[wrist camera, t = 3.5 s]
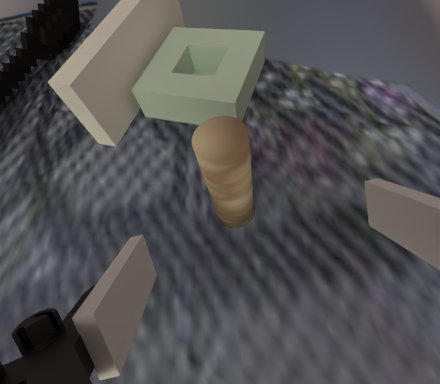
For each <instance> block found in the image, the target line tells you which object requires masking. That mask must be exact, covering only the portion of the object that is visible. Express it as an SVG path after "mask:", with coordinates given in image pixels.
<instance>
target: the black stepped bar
mask: <svg viewBox="0 0 440 384" xmlns="http://www.w3.org/2000/svg"><path fill="white" fill-rule="evenodd" d="M32 17H33V18H32ZM32 17H25V18H26V25H27V32H28V33H23V32H20V34H21V40H22V47H23V49H21V48H15V50H16V56H11V55H9V60H10V64H9V63H2V66H3V71H0V104H6V100H5V96H13V94H12V88H15V89H19V84H18V81H25V75H24V73H29V74H31V67H30V66H37V60H36V59H42V60H49V53H52V54H60V53H61V51H60V48H66V44H65V41H66V42H71V38H70V36H76V34H75V30H80V18H79V5H78V0H44V4H38V10H32Z"/></svg>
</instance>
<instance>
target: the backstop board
mask: <svg viewBox="0 0 440 384" xmlns="http://www.w3.org/2000/svg"><path fill="white" fill-rule="evenodd" d="M174 27H183V28H186V27H185V23H184V19H183V15H182V11H181V7H180V3H179V0H120V2H119V3H118V4H117V5H116V6H115V7H114V8H113V9H112V11H111V12H110V13H109V14H108V15H107V16H106V17H105V19H104V20H103V21H102V22H101V23H100V24H99V25H98V26H97V27H96V29H95V30H94V31H93V32H92V33H91V34H90V35H89V36H88V38H87V39H86V40H85V41H84V42H83V43H82V44H81V45H80V47H79V48H78V49H77V50H76V51H75V52H74V53H73V54H72V56H71V57H70V58H69V59H68V60H67V61H66V62H65V63H64V65H63V66H62V67H61V68H60V69H59V70H58V71H57V72H56V74H55V75H54V76H53V77H52V78H51V79H50V80H49V81H48V84H49V85H50V86H51V87H52V88H53V90H54V91H55V92H56V93H57V94H58V95H59V97H60V98H61V99H62V100H63V101H64V103H65V104H66V105H67V106H68V107H69V109H70V110H71V111H72V112H73V113H74V115H75V116H76V117H77V118H78V119H79V121H80V122H81V123H82V124H83V125H84V127H85V128H86V129H87V130H88V131H89V132H90V134H91V135H92V136H93V137H94V138H95V140H96V141H97V142H98V143H100V144H105V145H110V146H115V147H117V145H118V144H119V142H120V140H121V139H122V137H123V136H124V134H125V132H126V131H127V129H128V128H129V126H130V124H131V123H132V121H133V120H134V118H135V116H136V115H137V113H138V112H139V110H140V108H141V107H140V105H139V103H138V102H137V100H136V98H135V96H134V94H133V92H132V88H133V87H134V85H135V84H136V83H137V81H138V80H139V78H140V77H141V75H142V74H143V72H144V71H145V69H146V68H147V66H148V65H149V63H150V62H151V60H152V59H153V57H154V56H155V54H156V53H157V51H158V50H159V48H160V47H161V45H162V44H163V42H164V41H165V40H166V38H167V37H168V35H169V34H170V32H171V31H172V29H173V28H174Z"/></svg>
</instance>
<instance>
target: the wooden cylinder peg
mask: <svg viewBox="0 0 440 384" xmlns="http://www.w3.org/2000/svg"><path fill="white" fill-rule="evenodd" d="M192 146H193V149H194V152H195V154H196V157H197V160H198V163H199V165H200V168H201V171H202V174H203V176H204V179H205V182H206V185H207V187H208V190H209V193H210V196H211V198H212V201H213V204H214V207H215V209H216V212H217V215H218V218H219V220H220V221H221V222H222V223H223V224H224V225H225V226H227V227H230V228H240V227H243V226H245V225H247V224H248V223H249V222H250V221H251V220H252V218H253V215H254V200H253V185H252V170H251V156H250V141H249V131H248V128H247V127H246V125H245V124H244V123H243V122H242V121H240V120H239V119H237V118H234V117H230V116H218V117H213V118H210V119H208V120H206V121H204V122H203V123H202V124H200V125H199V126H198V127H197V128H196V130H195V131H194V133H193V136H192Z"/></svg>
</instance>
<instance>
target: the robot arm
mask: <svg viewBox="0 0 440 384" xmlns="http://www.w3.org/2000/svg"><path fill="white" fill-rule="evenodd" d="M365 191H366V200H367V210H368V220H369V226H371V227H372V228H374V229H376V230H377V231H379V232H380V233H382V234H383V235H385V236H387V237H388V238H390V239H391V240H393V241H394V242H396V243H398V244H399V245H401V246H402V247H404V248H405V249H407V250H409V251H410V252H412V253H413V254H415V255H416V256H418V257H420V258H421V259H423V260H424V261H426V262H427V263H429V264H430V265H432V266H434V267H435V268H437V269H438V270H440V198H438V197H435V196H432V195H429V194H425V193H422V192H419V191H416V190H413V189H410V188H407V187H404V186H400V185H397V184H394V183H391V182H388V181H385V180H382V179H379V178H377V179H373V180H368V181H365ZM156 276H157V274H156V271H155V269H154V266H153V263H152V260H151V257H150V254H149V251H148V248H147V245H146V242H145V239H144V236H143V235H139V236H135V237H131V238H130V239H129V240H128V241H127V243H126V244H125V246H124V247H123V248H122V250H121V251H120V252H119V254H118V255H117V257H116V258H115V259H114V261H113V262H112V264H111V265H110V266H109V268H108V269H107V270H106V272H105V273H104V275H103V276H102V277H101V279H100V280H99V282H98V283H97V284H96V286H92V287H91V288H90V289H89V290H88V291H86V292H85V293H84V294H83V295H82V296H81V298H80V299H79V300H78V302H77V304H75V306H74V307H73V308H72V310H71V311H70V312H69V313H68V315H67V316H66V317H65V319H64V320H63V321H62V320H61V318H60V315H59V313H58V311H57V310H56V309H54V308H53V309H46V310H43V311H40V312H38V313H36V314H34V315H32V316H30V317H29V318H27V319H25V320H24V321H23V322H22V323H20V324H19V325H18V326H17V327H16V328H15V330H14V331H13V333H12V337H13V339H14V341H15V343H16V345H17V346H18V348H19V350H20V352H21V354H22V356H23V357H21V358H19V359H17V360H14V361H12V362H10V363H7V364H5V365H3V366H2V364H1V362H0V384H92V383H91V381H90V379H89V378H90V375H91V373H92V371H93V369H94V368H95V371H96V373H97V375H98V377H99V379H100V380H103V379H108V378H112V377H117V376H120V374H121V372H122V369H123V366H124V363H125V361H126V358H127V355H128V352H129V350H130V347H131V344H132V342H133V339H134V336H135V333H136V331H137V328H138V325H139V322H140V320H141V317H142V314H143V311H144V309H145V306H146V303H147V301H148V298H149V295H150V292H151V290H152V287H153V284H154V281H155V279H156Z"/></svg>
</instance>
